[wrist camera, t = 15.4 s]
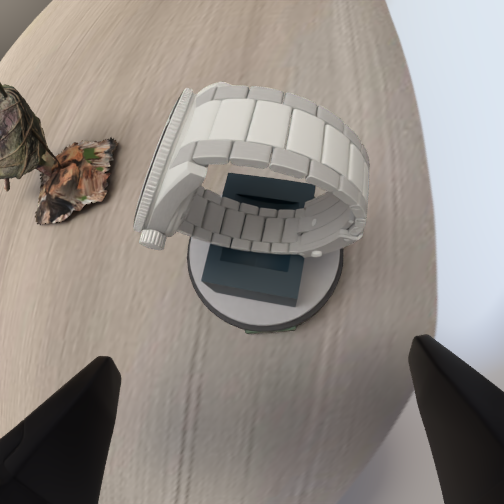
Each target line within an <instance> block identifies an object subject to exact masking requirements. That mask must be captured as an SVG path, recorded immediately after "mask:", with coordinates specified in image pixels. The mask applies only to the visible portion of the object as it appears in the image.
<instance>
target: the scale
mask: <svg viewBox="0 0 504 504" xmlns="http://www.w3.org/2000/svg"><path fill="white" fill-rule="evenodd" d="M222 195H223V194H221V195H220V196H221V198H222ZM314 198H315V197H314ZM220 202H221V201H220ZM211 237H212V236H211ZM210 241H211V240H210ZM209 246H210V242H209V243H208V242H204V241H201V240H198V239H195V238H192V237H191V236H190V240H189V245H188V253H187V262H188V271H189V275H190V279H191V282H192V284H193V287H194V289H195V291H196V293H197V295H198V296H199V298H200V299H201V301H202V302H203V303H204V305H205V306H206V307H207V308H208V309H209V310H210V311H211V312H212V313H214V314H215V315H216V316H217V317H219V318H220V319H222V320H224V321H225V322H227V323H229V324H231V325H234V326H236V327H238V328H241V329H244V330H245V333H247V334H256V333H273V332H283V331H294V330H295V329H296V326H298V325H300V324H302V323H303V322H305V321H307V320H308V319H310V318H311V317H312V316H313V315H315V314H316V313H317V312H318V311H319V310H320V309H321V308H322V306H323V305H324V304H325V303H326V302H327V301H328V299H329V298H330V297H331V295H332V294H333V292H334V290H335V288H336V286H337V284H338V281H339V278H340V275H341V271H342V266H343V248H341V249H339V250H336V251H333V252H330V253H326V254H322V256H321V257H307V258H305V259H304V265H303V271H302V276H301V282H300V288H299V294H298V299H297V303H296V307H290V306H284V305H279V304H273V303H267V302H262V301H257V300H251V299H246V298H241V297H236V296H231V295H225V294H220V293H215V292H214V291H213V290H212V289H210V288H209V287H208V286H207V285H205V284H204V283H203V282H201V279H202V275H203V270H204V266H205V262H206V258H207V254H208V250H209Z"/></svg>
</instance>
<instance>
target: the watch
mask: <svg viewBox="0 0 504 504" xmlns="http://www.w3.org/2000/svg"><path fill="white" fill-rule="evenodd" d="M283 97H284V101H283ZM282 102H283V104H282ZM291 115H292V116H291ZM290 118H291V121H290ZM289 123H290V126H289ZM288 128H289V132H288ZM287 134H288V137H287ZM286 139H287V142H286ZM285 144H286V148H285ZM271 153H272V157H271ZM270 158H271V162H270ZM229 160H230V161H231V163H232V164H233V165H237V166H247V167H255V168H263V169H264V168H267V167H268V166H269V162H270V169H271V170H272V171H274V172H278V173H282V174H286V175H289V176H292V177H296V178H304V177H306V182H308V183H310V184H308V183H301V182H295V181H288V180H281V179H274V178H267V177H259V176H251V175H243V174H235V173H228V176H227V180H226V183H225V187H224V191H223V195H222V198H221V196H220V195H218V194H216V193H214V192H212V191H210V190H208V189H206V190H204V189H205V188H204V187H202V186H201V185H202V183H203V181H204V179H205V177H206V173H207V170H208V168H207V167H208V165H209V164H227V163H229ZM369 165H370V164H369V157H368V154H367V151H366V149H365V147H364V145H363V144H361V140H360V139H359V138H358V136H357V135H356V134H355V133H354V131H353V130H352V129H351V128H350V127H349V126H348V125H346V124H344V122H343V121H342V120H341V119H340V118H339V117H338V116H336V115H335V114H333V113H332V112H331V111H329V110H327V109H326V108H324V107H322V106H318V107H317V104H316V103H314V102H312V101H310V100H308V99H305V98H303V97H301V96H298V95H295V94H292V93H289V92H287V93H285V96H284V92H283V91H280V90H276V89H271V88H266V87H258V86H252V87H250V90H249V87H248V86H233V85H230V84H228V83H225V82H217V83H214V84H211V85H209V86H207V87H205V88H203V89H202V90H201V91H199V92H198V93H197V94H193V90H192V89H189V88H186V89H185V90H184V91H183V92H182V94H181V96H180V97H179V99H178V100H177V102H176V104H175V105H174V107H173V109H172V111H171V114H170V116H169V118H168V120H167V123H166V125H165V127H164V130H163V132H162V135H161V137H160V140H159V142H158V145H157V147H156V150H155V153H154V155H153V158H152V161H151V164H150V166H149V169H148V172H147V175H146V178H145V181H144V184H143V187H142V190H141V193H140V197H139V200H138V204H137V208H136V212H135V219H134V226H133V227H134V231H137V232H141V231H142V230H143V231H142V234H141V237H140V241H139V243H140V244H141V245H143V246H145V247H148V248H151V249H155V250H163V249H164V245H165V241H166V237H171V236H173V235H174V234H175V233H176V231H177V232H180V233H182V234H185V235H187V236H191V237H192V238H195V239H198V240H201V241H204V242H208V243H209V242H210V246H209V250H208V254H207V258H206V262H205V266H204V270H203V275H202V279H201V282H203V283H204V284H205V285H207V286H208V287H209V288H210V289H212V290H213V291H214V292H215V293H220V294H225V295H231V296H236V297H241V298H246V299H251V300H257V301H262V302H267V303H273V304H279V305H284V306H290V307H296V303H297V299H298V294H299V288H300V282H301V276H302V271H303V265H304V259H305V258H307V257H321V256H322V254H326V253H330V252H333V251H336V250H339V249H341V248H344V247H346V246H348V245H350V244H352V243H354V242H356V241H358V240H359V239H361V238H362V235H363V231H364V227H365V225H366V218H367V206H368V190H369ZM315 186H317V187H319V188H321V189H323V190H325V191H328V192H326V193H324V194H322V195H320V196H318V197H316V198H314V193H315ZM220 201H221V202H220ZM211 236H212V237H211ZM210 240H211V241H210Z"/></svg>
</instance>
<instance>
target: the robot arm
mask: <svg viewBox="0 0 504 504" xmlns="http://www.w3.org/2000/svg"><path fill="white" fill-rule="evenodd" d="M408 362H409V367H410V371H411V376H412V380H413V385H414V390H415V394H416V399H417V404H418V408H419V411H420V414H421V418H422V421H423V424H424V427H425V430H426V434H427V437H428V441H429V444H430V447H431V451H432V455H433V459H434V462H435V466H436V470H437V474H438V478H439V482H440V486H441V490H442V495H443V499H444V503H445V504H504V392H503V391H502V390H501V389H499V388H498V387H497V386H495V385H494V384H493V383H492V382H490V381H489V380H487V379H486V378H485V377H484V376H483V375H481V374H480V373H479V372H477V371H476V370H475V369H473V368H472V367H471V366H469V365H468V364H467V363H465V362H464V361H463V360H461V359H460V358H459V357H457V356H456V355H455V354H454V353H452V352H451V351H450V350H448V349H447V348H445V347H444V346H443V345H441V344H440V343H439V342H437V341H436V340H435V339H433V338H432V337H431V336H429V335H427V334H425V335H419V336H415V337H414V339H413V342H412V345H411V349H410V352H409V357H408ZM120 386H121V375H120V372H119V371H118V369H117V367H116V365H115V363H114V361H113V360H112V358H111V357H109V356H98V357H97V358H95V359H94V360H93V361H92V362H91V363H89V364H88V365H87V366H86V367H85V368H84V369H82V370H81V371H80V372H79V373H78V374H76V375H75V376H74V377H73V378H72V379H71V380H69V381H68V382H67V383H66V384H65V385H63V386H62V387H61V388H60V389H59V390H58V391H56V392H55V393H54V394H53V395H52V396H51V397H49V398H48V399H47V400H46V401H45V402H44V403H42V404H41V405H40V406H39V407H38V408H37V409H35V410H34V411H33V412H32V413H31V414H30V415H28V416H27V417H26V418H25V419H24V420H23V421H21V422H20V423H19V424H18V425H17V426H16V427H14V428H13V429H12V430H11V431H10V432H8V433H7V434H6V435H5V436H3V437H2V438H1V439H0V504H98V501H99V495H100V490H101V485H102V479H103V474H104V470H105V465H106V460H107V456H108V451H109V447H110V442H111V438H112V434H113V429H114V425H115V420H116V414H117V406H118V399H119V392H120Z"/></svg>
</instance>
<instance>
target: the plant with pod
mask: <svg viewBox="0 0 504 504" xmlns="http://www.w3.org/2000/svg"><path fill="white" fill-rule="evenodd" d="M117 145H118V143H117V142H116V140H114V138H113V139H112V138H110V140H109V139H107V140H106V139H105V140H103V141H102V142H96V141H94V142H88V141H85V143H83V140H82V141H81V142H80V144H79V145H78V143H76V142H74V143H73V144H72V146H70V145H69V147H66V148H65V149H64V150H63V152H62V151H61V152H62V153H61V154H58V155H57V156H56V157H55V156H54V155H53V154H52V152H51V151H50V150H49V149H48V146H47V143H46V140H45V136H44V131H43V128H41V122H40V119H39V118H38V117H36V116H35V114H34V113H33V111H32V110H31V109H30V107H29V105H28V104H27V103H26V101H25V99H24V98H23V97H22V96H21V95H20V93H19V92H18V91H17V90H16V89H15V88H14V87H12V86H9V85H2V84H1V83H0V179H5V181H4V189H6V191H9V189H10V182H9V178H14V177H16V178H17V179H20V178H21V177H22V176H23V175H24V174H26V173H28V172H31V171H32V170H33V169H37V170H39V171H40V172H42V174H40V176H42V177H41V178H40V179H41V186H40V196H39V198H38V199H39V201H38V203H39V204H38V205H37V206H39V207H38V208H37V211H36V212H35V213H37V214H36V216H35V217H36V222H38V223H37V224H40V225H41V223H42V225H43V224H45V222H46V224H48V223H50V222H51V223H52V222H53V224H55V223H56V222H60V223H61V221H62V220H63V221H65V220H64V218H67V217H68V216H69V215H71V213H72V211H73V210H77V211H80V210H81V209H82V208H83V206H84V205H85V204H90V203H91V201H93V203H95V202H97V201H100V202H102V200H103V199H104V197H105V195H106V194H107V192H108V191H106V190H104V189H105V188H106V187H107V186H109V184H108V183H107V181H106V180H107V178H108V177H109V175H110V174H111V173H105V172H106V171H108V170H110V169H108V168H105V167H109V166H110V163H109V161H112V160H113V158H112V156H113V154H111V153H112V152H114V151H112V150H115V149H116V148H115V147H116V146H117ZM53 158H54V159H53ZM103 173H105V174H103Z"/></svg>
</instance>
